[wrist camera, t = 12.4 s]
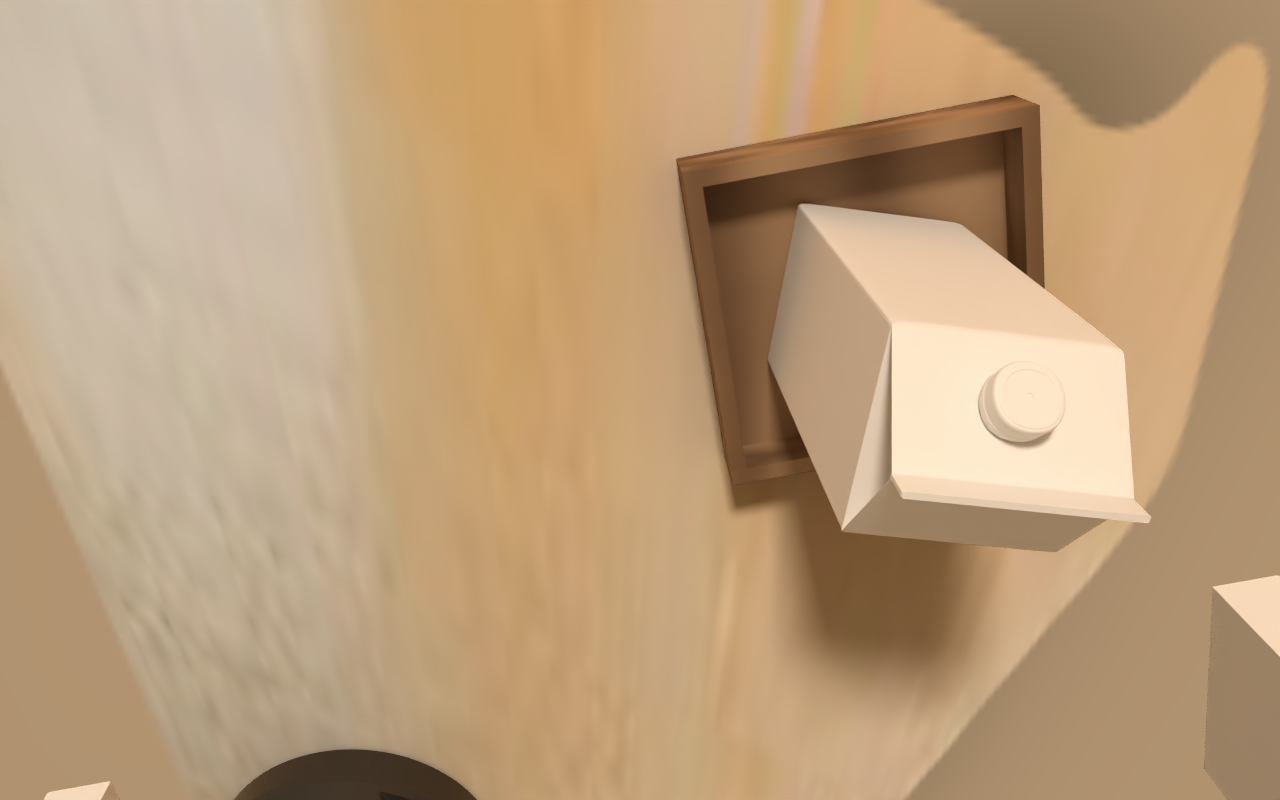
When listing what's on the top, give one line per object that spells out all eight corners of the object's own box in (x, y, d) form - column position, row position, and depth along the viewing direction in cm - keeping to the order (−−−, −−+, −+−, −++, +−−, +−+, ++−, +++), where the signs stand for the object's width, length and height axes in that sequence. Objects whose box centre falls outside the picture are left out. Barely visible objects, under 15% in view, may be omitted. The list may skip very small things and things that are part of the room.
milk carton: (921, 376, 49) (1111, 627, 31) (765, 359, 48) (872, 605, 30) (960, 222, 46) (1195, 402, 28) (796, 200, 45) (934, 372, 28)
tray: (725, 457, 50) (732, 485, 48) (676, 158, 45) (682, 172, 42) (1024, 402, 50) (1048, 428, 47) (1012, 94, 44) (1039, 105, 42)
